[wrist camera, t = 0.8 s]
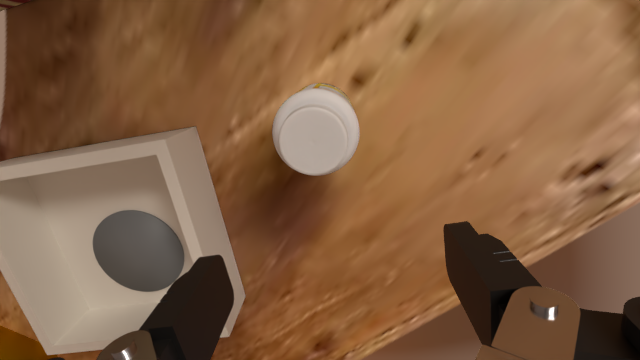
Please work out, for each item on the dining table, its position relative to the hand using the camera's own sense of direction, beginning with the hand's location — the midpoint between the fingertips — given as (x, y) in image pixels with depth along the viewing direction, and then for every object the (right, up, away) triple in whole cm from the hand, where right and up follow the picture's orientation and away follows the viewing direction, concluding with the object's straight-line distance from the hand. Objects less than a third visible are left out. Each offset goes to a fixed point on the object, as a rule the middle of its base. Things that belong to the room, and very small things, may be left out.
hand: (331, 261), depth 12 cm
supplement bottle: (0, +8, +17) cm, 19 cm away
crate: (-19, -2, +21) cm, 28 cm away
